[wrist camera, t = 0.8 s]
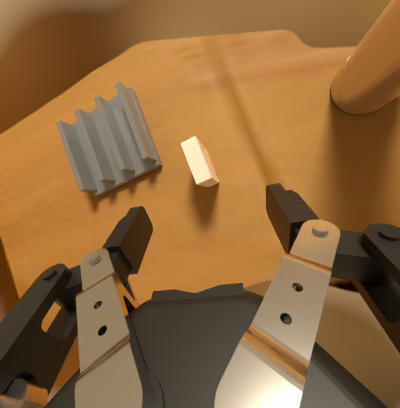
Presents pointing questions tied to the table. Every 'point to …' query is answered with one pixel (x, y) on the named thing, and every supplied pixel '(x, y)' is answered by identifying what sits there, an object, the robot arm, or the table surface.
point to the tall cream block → (199, 162)
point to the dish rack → (109, 143)
